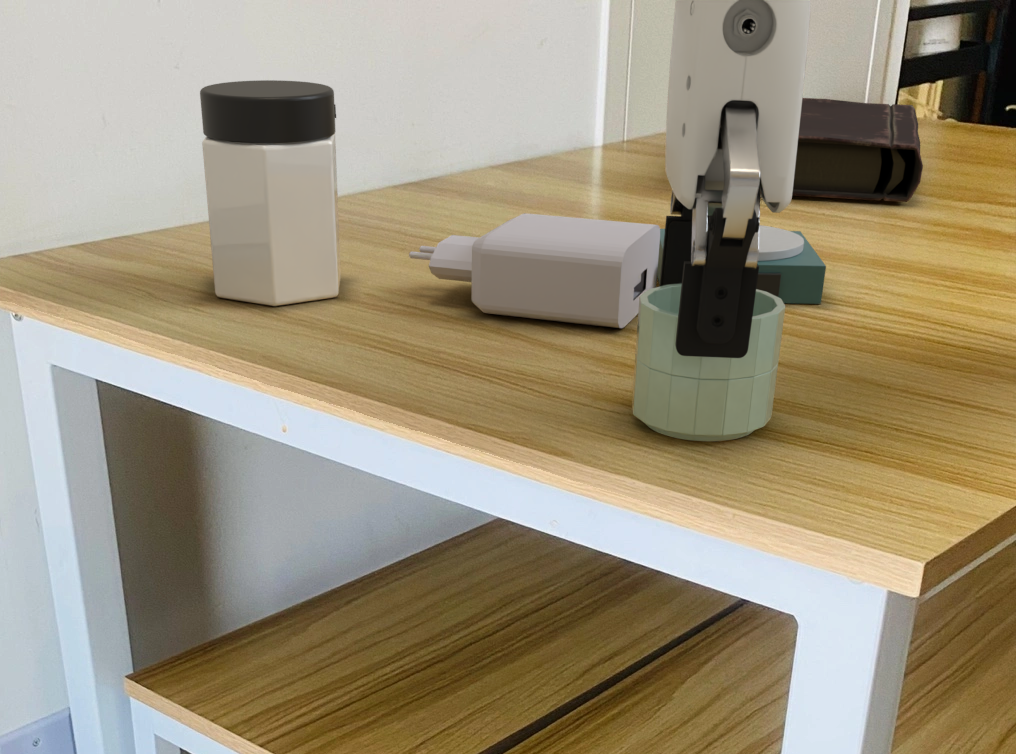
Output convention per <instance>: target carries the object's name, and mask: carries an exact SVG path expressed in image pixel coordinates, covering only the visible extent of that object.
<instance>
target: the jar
mask: <svg viewBox="0 0 1016 754" xmlns="http://www.w3.org/2000/svg"><path fill="white" fill-rule="evenodd" d="M199 97H200V98H199V99H200V110H201V120H202V123H201V124H202V133H203V135H204V136H205V137H204V139H203V140H202V141H201V147H202V159H203V169H204V180H205V190H206V191H205V192H206V203H207V214H208V225H209V237H210V247H211V248H210V250H211V261H212V271H213V272H212V273H213V283H214V293H215V296H216V297H218V298H221V299H227V300H232V301H240V302H245V303H253V304H258V305H263V306H269V307H270V306H272V307H278V306H279V307H280V306H285V305H293V304H298V303H299V304H300V303H306V302H312V301H313V302H314V301H320V300H326V299H332V298H333V299H334V298H336V297H338V296H339V293H340V285H341V279H342V278H341V277H342V274H341V273H342V271H341V269H342V268H341V248H340V247H341V246H340V245H341V244H340V225H339V224H340V223H339V222H340V221H339V197H338V194H339V193H338V173H337V172H338V171H337V168H338V167H337V148H336V147H337V146H336V143H337V142H336V119H337V112H336V110H337V109H336V104H335V90H334V89H333V87H331V86H329V85H326V84H323V83H316V82H309V81H297V80H274V79H273V80H269V79H268V80H266V79H265V80H262V79H261V80H239V81H238V80H237V81H227V82H221V83H220V82H219V83H215V84H214V83H213V84H209V85H206V86H203V87H202V88H201V89H200V91H199Z"/></svg>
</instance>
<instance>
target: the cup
mask: <svg viewBox="0 0 1016 754" xmlns="http://www.w3.org/2000/svg"><path fill="white" fill-rule="evenodd" d="M681 285H682V283H681V284H670V285H664V286H660V287H659V286H656V288H652V289H649V290H647V291H646V292H644V293H643V294H642V295H640V297H639V311H638V314H637V324H636V325H637V326H636V327H637V328H636V340H635V353H634V354H635V355H634V369H633V382H632V396H631V409H632V415H633V416H634V417H636V418H637V419H638V420H639V421H641V422H642V423H644V424H645V425H646V426H647V427H648V428H649V429H651V430H652V431H654V432H656V433H658V434H660V435H664V436H667V437H671V438H675V439H678V440H685V441H695V442H723V441H724V442H725V441H732V440H737V439H740V438H744V437H746V436H749V435H751V434H753V432H755V431H756V430H759V429H762V428H763V427H765V426H766V425H767V424H768V423H769V421H770V420H771V419H772V417H773V415H772V414H773V407H774V400H775V391H776V384H777V377H778V368H779V362H780V361H779V360H780V355H781V354H780V353H781V346H782V337H783V330H784V322H785V316H786V315H785V314H786V303H783V301H782V299H781V298H779V297H777V296H775V295H772V294H770V293H768V292H766V291H762V290H758V289H756V294H755V302H754V309H753V317H752V324H751V332H750V339H749V347H748V352H747V354H746V355H745V356H744V357H742V358H721V357H696V356H682V355H680V354H679V353H678V352H677V350H676V346H675V342H676V333H677V323H678V314H679V304H680V295H681Z"/></svg>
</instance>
